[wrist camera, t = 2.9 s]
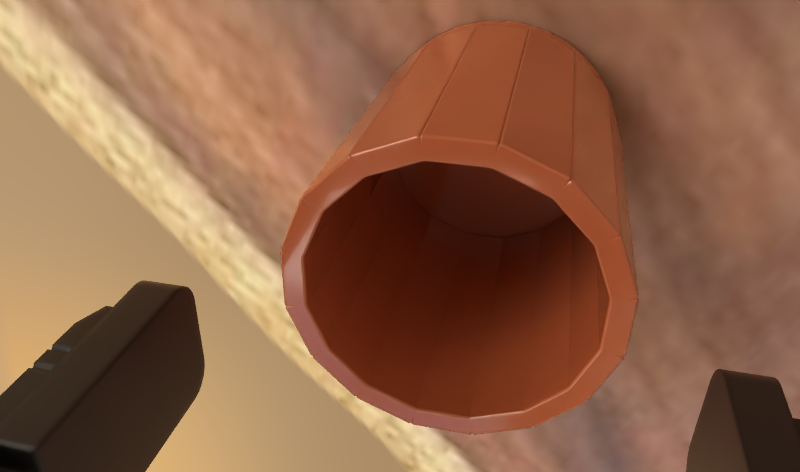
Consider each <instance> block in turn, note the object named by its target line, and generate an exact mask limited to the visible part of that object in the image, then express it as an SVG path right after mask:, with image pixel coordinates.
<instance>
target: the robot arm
mask: <svg viewBox="0 0 800 472" xmlns="http://www.w3.org/2000/svg"><path fill="white" fill-rule="evenodd" d="M203 376H204V355H203V349H202V343H201V336H200V331H199V324H198V318H197V312H196V305H195V299H194V296H193V293H192V291H191V290H190V289H189V288H188V287H184V286H178V285H171V284H165V283H158V282H151V281H140V282H138V283H137V284H136V285H134V286H133V288H131V290H129V292H128V293H127V294H126V295H125V296H124V297H123V298H122V299H121V300H120V301H119V302H118V303H117V304H116V305H115V306H114V307H109V306H105V307H104V308H102V309H100V310H98V311H96V312H95V313H93V314H91V315H89V316H87V317H85V318H84V319H82V320H80V321H78V322H76V323H75V324H74V325H73V326H72V327H71V328H70V329H69V330H68V331H67V332H66V333H65V334H63V336H61V337H60V338H59V339H58V340H57V341H56V342H55V343H54V344H53V347H52V350H47V351H46V352H45V353H44V354H43V355H42V356H41V357H40V358H39V359H38V360H37V361H36V362H35V363H34V367H33V368H28V369H27V371H25V372H24V373H23V374H22V375H21V376H20V377H19V378H18V379H17V380H16V381H15V382H14V383H13V384H12V385H11V386H10V387H9V388H8V389H7V390H6V391H5V392H4V393H2V394H1V395H0V472H145V471H146V470H147V468H148V467H149V465H150V464H151V462H152V461H153V459H154V458H155V457H156V455H157V454H158V452H159V451H160V449H161V448H162V446H163V445H164V443H165V442H166V441H167V439H168V438H169V436H170V435H171V433H172V432H173V430H174V428H175V427H176V426H177V424H178V423H179V422H180V420H181V419H182V417H183V416H184V414H185V413H186V411H187V410H188V408H189V407H190V405H191V404H192V403H193V401H194V400H195V398H196V396H197V394H198V392H199V390H200V387H201V384H202V380H203ZM686 472H800V419H795V418H792V415H791V412H790V410H789V407H788V404H787V401H786V398H785V396H784V393H783V390H782V387H781V385H780V383H779V381H778V380H777V379H776V378H774V377H768V376H761V375H755V374H748V373H742V372H735V371H728V370H722V369H718V370H716V371H715V372H714V374H713V376H712V378H711V381H710V384H709V387H708V390H707V393H706V396H705V400H704V403H703V406H702V409H701V412H700V415H699V418H698V422H697V425H696V428H695V431H694V434H693V437H692V440H691V444H690V447H689V452H688V458H687V469H686Z"/></svg>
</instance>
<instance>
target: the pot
mask: <svg viewBox="0 0 800 472" xmlns="http://www.w3.org/2000/svg"><path fill="white" fill-rule="evenodd" d="M280 255H281V266H282V277H283V289H284V300H285V305H286V309H287V311H288V313H289V315H290V316H291V318H292V320H293V322H294V324H295V326H296V328H297V330H298V331H299V333H300V335H301V337H302V339H303V341H304V343H305V345H306V346H307V348H308V350H309V352H310V354H311V355H312V356H313V358H314V359H315V360H316V361H317V362H318V363H319V364H320V365H321V366H323V367H324V368H325V369H326V370H327V371H328V372H329V373H330V374H331V375H332V376H333V377H334V378H336V379H337V380H338V381H339V382H340V383H341V384H342V385H343V386H344V387H345V388H346V389H347V390H349V391H350V392H351V393H352V394H353V395H354V396H357V398H359V399H361V400H363V401H365V402H367V403H369V404H371V405H373V406H375V407H377V408H379V409H381V410H383V411H385V412H387V413H389V414H391V415H394V416H396V417H398V418H400V419H402V420H404V421H406V422H408V423H411V422H412V424H414V425H420V426H425V427H431V428H436V429H442V430H448V431H453V432H459V433H465V434H483V433H492V432H501V431H509V430H518V429H526V428H531V427H532V426H533V427H536V426H538V425H540V424H542V423H544V422H546V421H548V420H550V419H552V418H554V417H556V416H558V415H560V414H562V413H565V412H567V411H569V410H571V409H573V408H575V407H577V406H579V405H581V404H583V403H585V402H586V400H589V399H590V397H591V396H592V395H593V394H594V393H595V392H596V390H597V389H598V388H599V387H600V386H601V385H602V383H603V382H604V381H605V380H606V379H607V378H608V376H609V375H610V374H611V373H612V372H613V371H614V370H615V368H616V367H617V366H618V365H619V364H620V363H621V361H622V360H623V359H624V356H625V355H626V353H627V349H628V344H629V340H630V336H631V331H632V327H633V323H634V318H635V314H636V310H637V306H638V301H639V300H638V286H637V278H636V269H635V261H634V252H633V244H632V235H631V227H630V218H629V210H628V201H627V193H626V184H625V176H624V167H623V159H622V150H621V142H620V134H619V131H618V127H617V123H616V117H615V112H614V107H613V104H612V101H611V98H610V95H609V92H608V90H607V88H606V86H605V84H604V82H603V80H602V78H601V77H600V75H599V74H598V72H597V71H596V70H595V68H594V67H593V65H592V64H591V63H590V62H589V61H588V60H587V59H586V58H585V57H584V56H583V55H582V53H580V52H579V51H578V50H577V49H575V48H574V47H573V46H572V45H570V44H569V43H568V42H566V41H565V40H563V39H561V38H560V37H558V36H556V35H554V34H552V33H550V32H548V31H545V30H543V29H541V28H538V27H535V26H531V25H527V24H524V23H518V22H511V21H483V22H476V23H470V24H467V25H463V26H459V27H456V28H453V29H451V30H449V31H446V32H444V33H442V34H440V35H438V36H437V37H435V38H433V39H432V40H430V41H428V42H427V43H426V44H424V45H423V46H422V47H421V48H419V49H418V50H417V51H416V52H415V53H414V54H413V55H412V56H411V57H410V58H409V59H408V60H407V61H406V62H405V64H404V65H403V66H402V67H400V68H399V69H398V70H397V71H396V72H395V73H394V75H393V76H392V77H391V79H390V80H389V81H388V83H387V84H386V85H385V87H384V88H383V89H382V91H381V92H380V93H379V95H378V96H377V97H376V98H375V100H374V101H373V102H372V104H371V105H370V106H369V108H368V109H367V110H366V112H365V113H364V114H363V116H362V117H361V118H360V120H359V121H358V122H357V124H356V125H355V126H354V128H353V129H352V130H351V132H350V133H349V134H348V136H347V137H346V138H345V140H344V141H343V142H342V144H341V145H340V146H339V148H338V149H337V150H336V151H335V153H334V154H333V155H332V157H331V158H330V159H329V161H328V162H327V163H326V165H325V166H324V167H323V169H322V170H321V171H320V173H319V174H318V175H317V177H316V178H315V179H314V181H313V182H312V183H311V185H310V186H309V187H308V189H307V190H306V191H305V193H304V194H303V195H302V197H301V198H300V200H299V203H298V205H297V208H296V210H295V213H294V215H293V218H292V220H291V223H290V226H289V228H288V231H287V233H286V236H285V238H284V241H283V243H282V246H281V252H280Z"/></svg>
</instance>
